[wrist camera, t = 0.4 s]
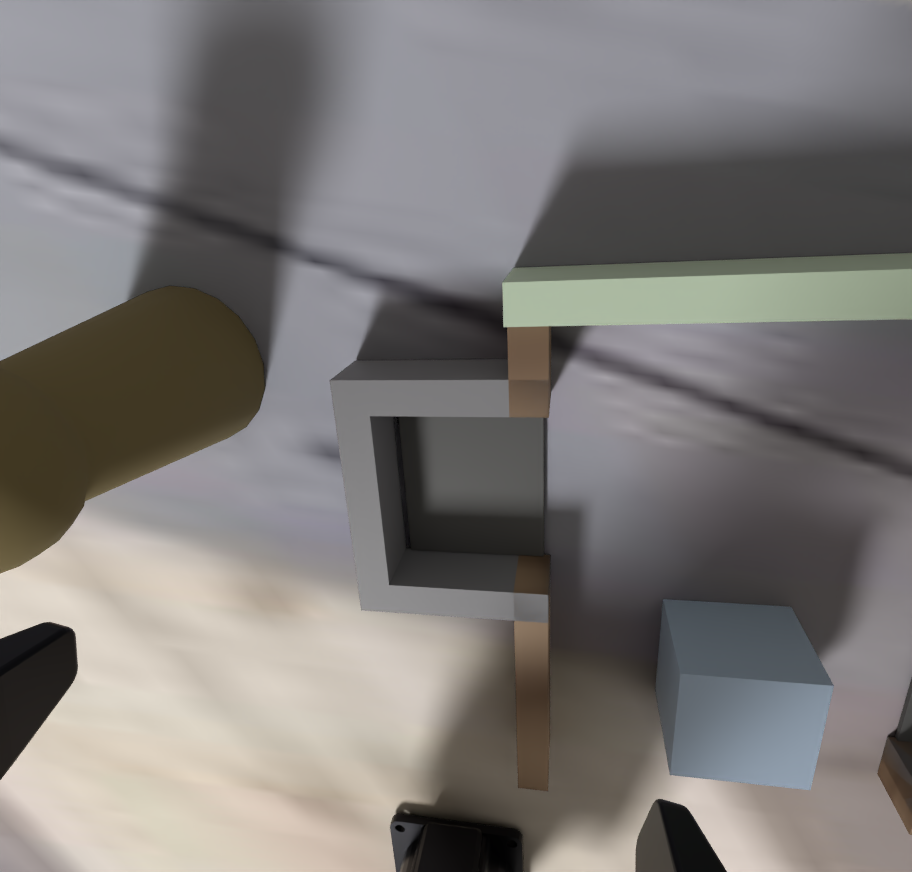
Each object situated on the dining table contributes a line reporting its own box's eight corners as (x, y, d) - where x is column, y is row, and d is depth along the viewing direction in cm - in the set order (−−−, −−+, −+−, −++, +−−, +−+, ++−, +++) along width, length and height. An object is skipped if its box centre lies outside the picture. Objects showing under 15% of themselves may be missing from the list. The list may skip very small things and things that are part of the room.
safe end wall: (1060, 291, 17) (1175, 314, 14) (514, 305, 20) (503, 327, 16) (1074, 247, 16) (1196, 259, 13) (513, 267, 19) (502, 282, 16)
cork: (213, 259, 21) (-115, 319, 11) (292, 413, 23) (72, 588, 13) (87, 320, 23) (-295, 421, 13) (169, 459, 24) (-110, 645, 14)
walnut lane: (910, 777, 24) (947, 838, 22) (522, 736, 27) (518, 787, 24) (1060, 291, 17) (1137, 306, 15) (514, 305, 20) (506, 320, 17)
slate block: (773, 698, 24) (810, 790, 20) (655, 688, 25) (670, 774, 21) (789, 604, 22) (833, 686, 18) (662, 597, 23) (680, 673, 19)
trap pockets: (1085, 779, 22) (1143, 845, 20) (397, 710, 27) (381, 757, 25) (1281, 351, 17) (1396, 376, 14) (355, 360, 21) (329, 380, 19)
